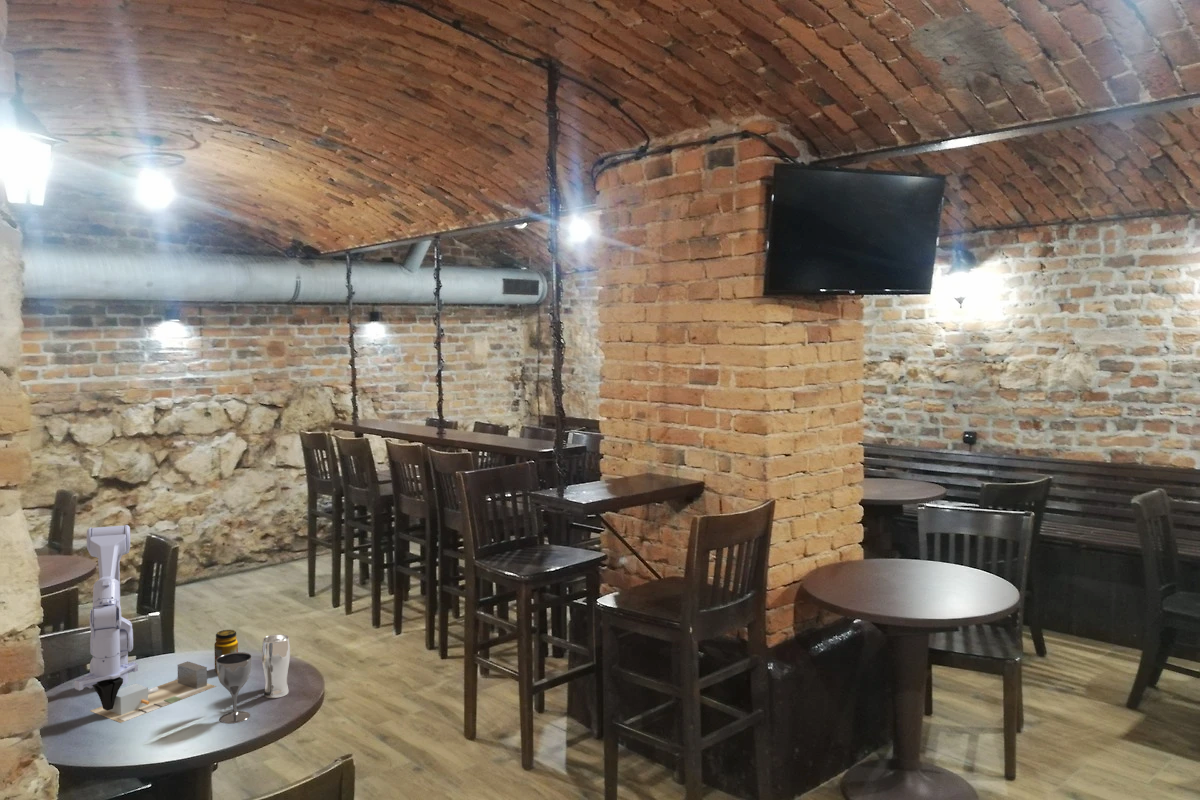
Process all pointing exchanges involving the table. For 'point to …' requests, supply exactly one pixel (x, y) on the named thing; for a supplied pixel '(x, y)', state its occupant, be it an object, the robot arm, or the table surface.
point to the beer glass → (276, 664)
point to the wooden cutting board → (156, 700)
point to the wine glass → (234, 681)
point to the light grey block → (131, 698)
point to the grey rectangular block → (192, 675)
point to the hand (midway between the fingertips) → (108, 708)
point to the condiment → (225, 644)
